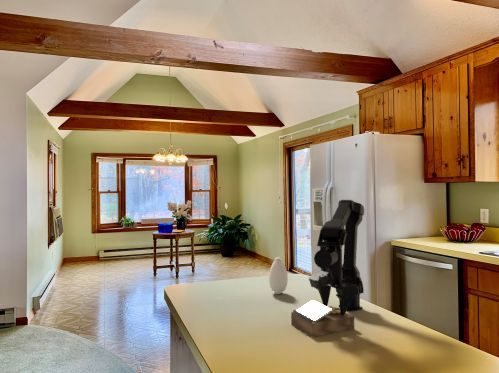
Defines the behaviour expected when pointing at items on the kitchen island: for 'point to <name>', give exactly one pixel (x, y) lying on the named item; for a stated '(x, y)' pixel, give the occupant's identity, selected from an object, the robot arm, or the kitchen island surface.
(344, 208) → the robot arm
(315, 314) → the steel flap
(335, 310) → the gold metal dome
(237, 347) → the kitchen island surface
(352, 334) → the kitchen island surface
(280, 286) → the sauce bottle
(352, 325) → the brown box
